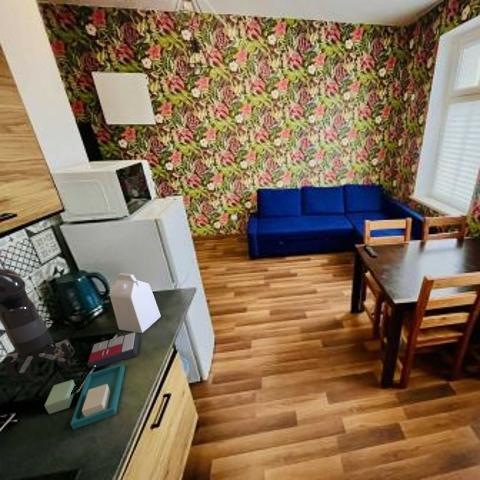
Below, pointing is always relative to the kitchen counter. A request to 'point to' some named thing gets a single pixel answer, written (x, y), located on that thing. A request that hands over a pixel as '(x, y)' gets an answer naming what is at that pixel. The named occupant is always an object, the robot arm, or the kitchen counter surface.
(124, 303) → the milk
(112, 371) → the tray
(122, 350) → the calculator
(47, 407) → the pale green rectangular block
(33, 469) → the kitchen counter surface
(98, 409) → the pad
